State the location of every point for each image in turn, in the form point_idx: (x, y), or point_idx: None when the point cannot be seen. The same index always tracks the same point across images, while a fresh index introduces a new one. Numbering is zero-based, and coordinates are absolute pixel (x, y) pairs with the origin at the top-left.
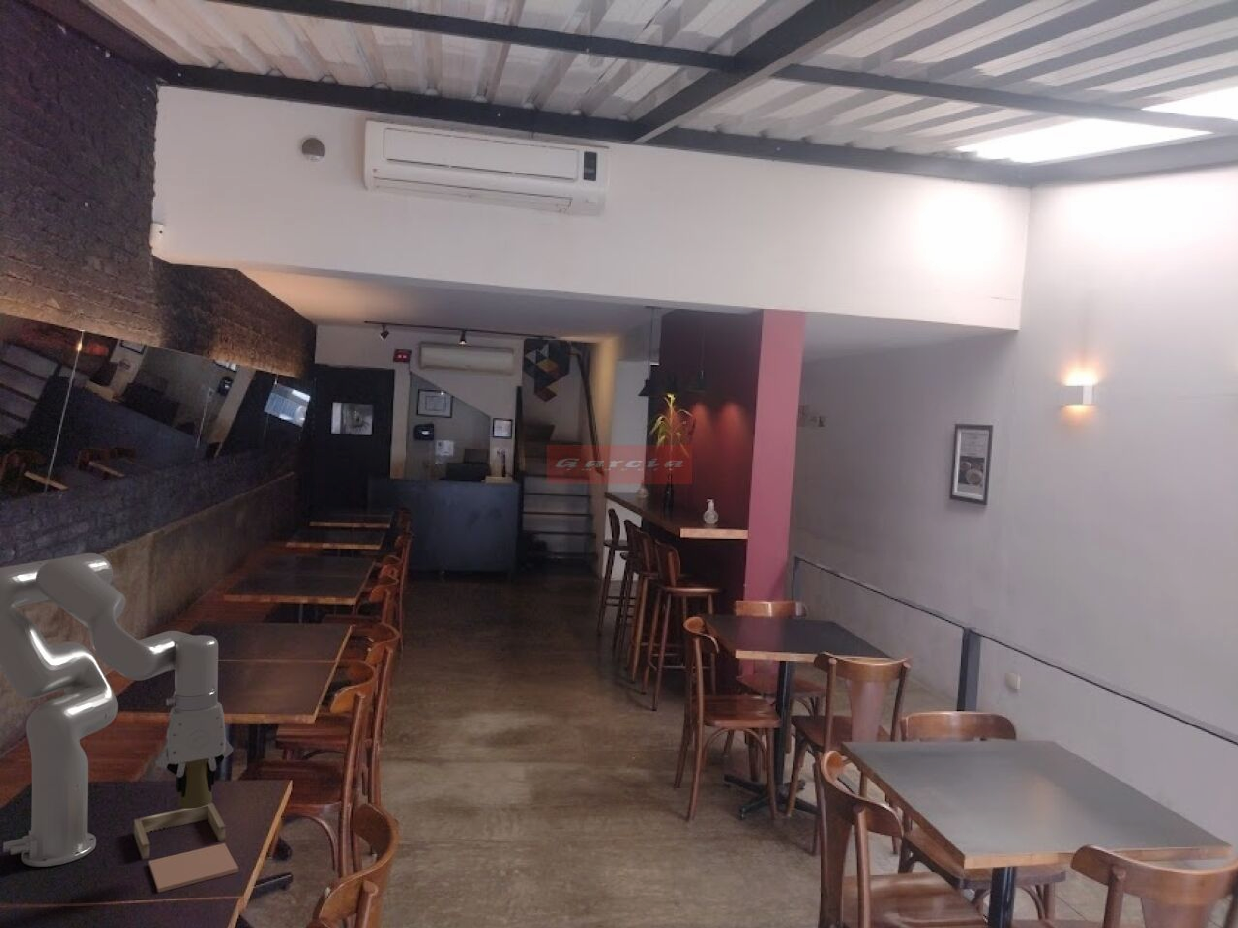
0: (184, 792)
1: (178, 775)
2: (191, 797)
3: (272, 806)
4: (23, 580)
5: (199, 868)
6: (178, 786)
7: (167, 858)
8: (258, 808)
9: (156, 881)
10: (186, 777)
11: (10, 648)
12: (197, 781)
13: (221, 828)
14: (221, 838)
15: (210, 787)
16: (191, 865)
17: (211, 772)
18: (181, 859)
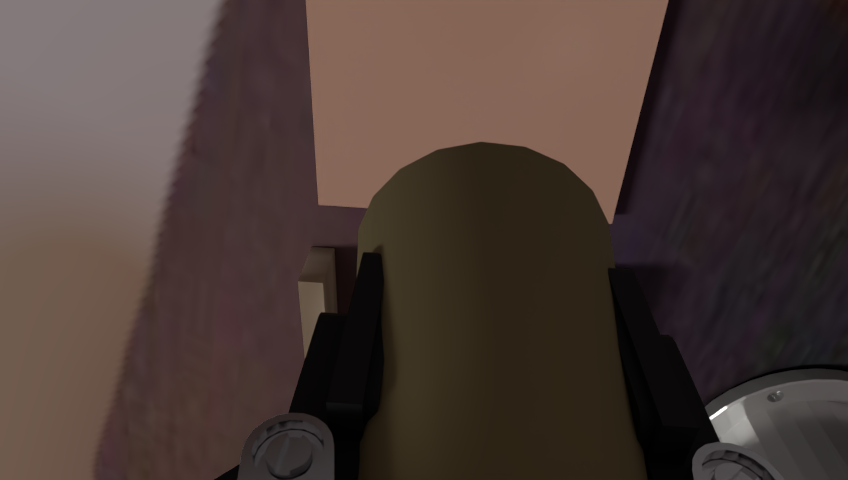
0: (616, 288)
1: (742, 472)
2: (557, 218)
3: (125, 380)
4: None
5: (462, 35)
6: (676, 367)
7: None
8: (173, 390)
9: (658, 25)
10: (632, 419)
11: None
12: (512, 320)
13: (315, 277)
14: (323, 252)
15: (364, 268)
16: (484, 87)
17: (321, 413)
18: None
